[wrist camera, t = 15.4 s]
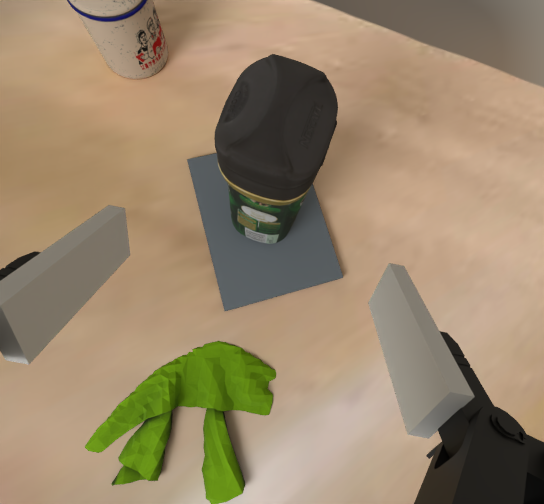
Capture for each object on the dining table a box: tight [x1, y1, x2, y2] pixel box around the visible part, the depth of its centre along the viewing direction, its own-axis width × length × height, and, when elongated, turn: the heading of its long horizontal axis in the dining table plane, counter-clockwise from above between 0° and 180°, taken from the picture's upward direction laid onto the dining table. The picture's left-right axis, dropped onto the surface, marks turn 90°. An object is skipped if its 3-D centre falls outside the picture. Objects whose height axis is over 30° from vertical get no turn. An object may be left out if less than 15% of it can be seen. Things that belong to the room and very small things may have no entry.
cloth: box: [85, 341, 276, 504], centre depth 30 cm, size 20×22×2 cm
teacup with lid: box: [67, 0, 168, 79], centre depth 34 cm, size 12×9×12 cm
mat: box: [187, 153, 343, 311], centre depth 36 cm, size 20×15×1 cm
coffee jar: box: [215, 54, 338, 244], centre depth 26 cm, size 10×8×19 cm
